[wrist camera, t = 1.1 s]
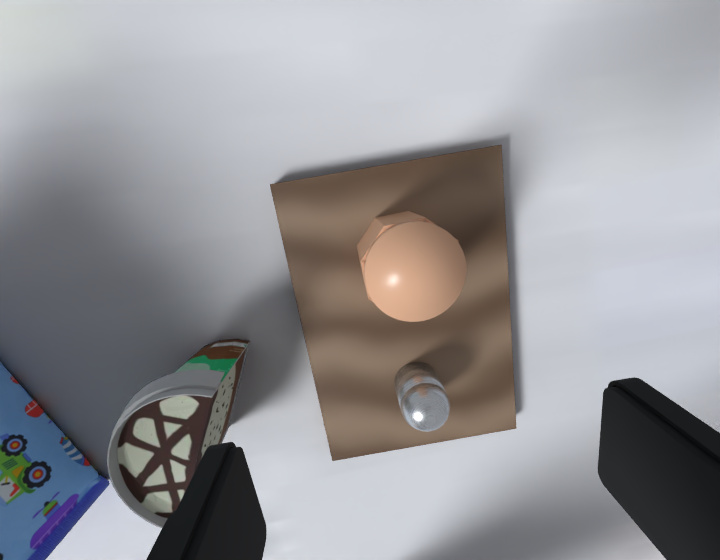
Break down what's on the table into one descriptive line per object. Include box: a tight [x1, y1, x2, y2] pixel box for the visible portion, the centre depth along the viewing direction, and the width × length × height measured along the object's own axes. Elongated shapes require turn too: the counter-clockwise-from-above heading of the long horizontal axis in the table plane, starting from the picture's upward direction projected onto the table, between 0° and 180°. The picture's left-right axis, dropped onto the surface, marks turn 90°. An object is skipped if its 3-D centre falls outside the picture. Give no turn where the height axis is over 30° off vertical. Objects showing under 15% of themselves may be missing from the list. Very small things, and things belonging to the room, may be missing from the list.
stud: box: [394, 362, 450, 432], centre depth 29 cm, size 4×4×6 cm
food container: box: [107, 339, 250, 528], centre depth 27 cm, size 12×6×10 cm, turn 163°
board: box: [270, 145, 516, 461], centre depth 31 cm, size 26×18×2 cm
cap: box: [357, 211, 467, 322], centre depth 25 cm, size 6×6×7 cm
